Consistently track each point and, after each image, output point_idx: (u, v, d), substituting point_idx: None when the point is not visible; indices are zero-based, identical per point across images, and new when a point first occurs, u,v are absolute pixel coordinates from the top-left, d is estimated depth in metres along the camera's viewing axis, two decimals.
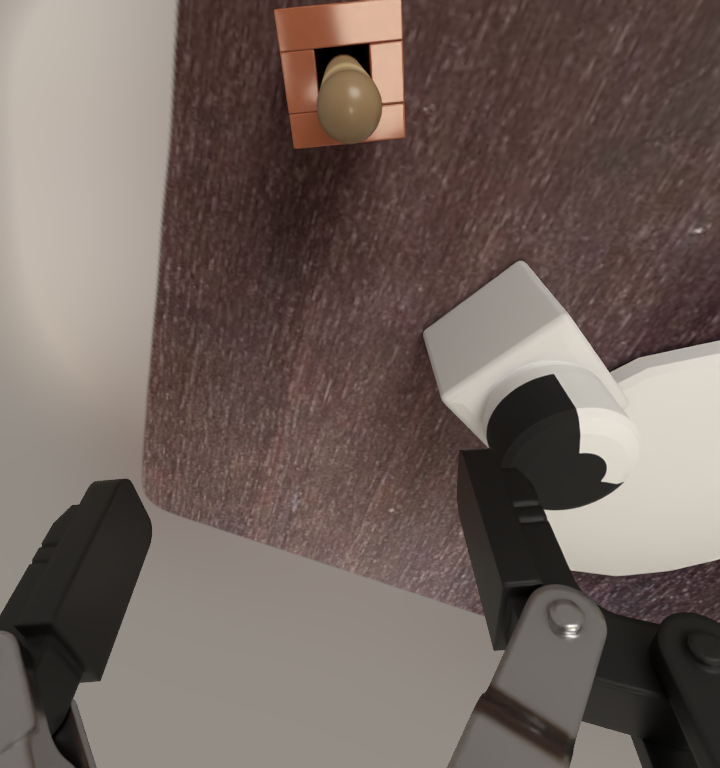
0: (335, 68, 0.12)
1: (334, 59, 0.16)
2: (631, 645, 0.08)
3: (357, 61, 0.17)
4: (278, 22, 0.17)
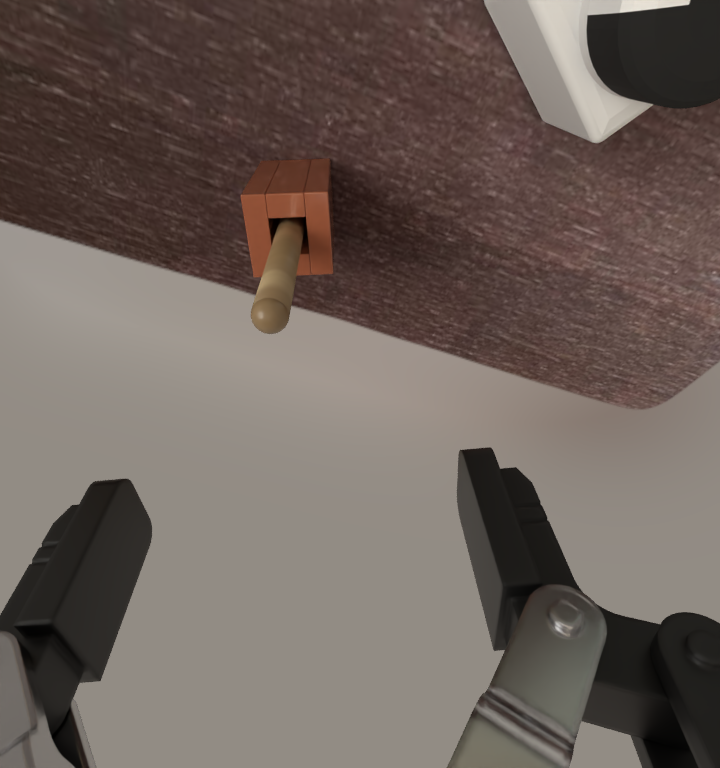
0: None
1: None
2: (631, 645, 0.08)
3: (277, 230, 0.25)
4: (260, 275, 0.27)
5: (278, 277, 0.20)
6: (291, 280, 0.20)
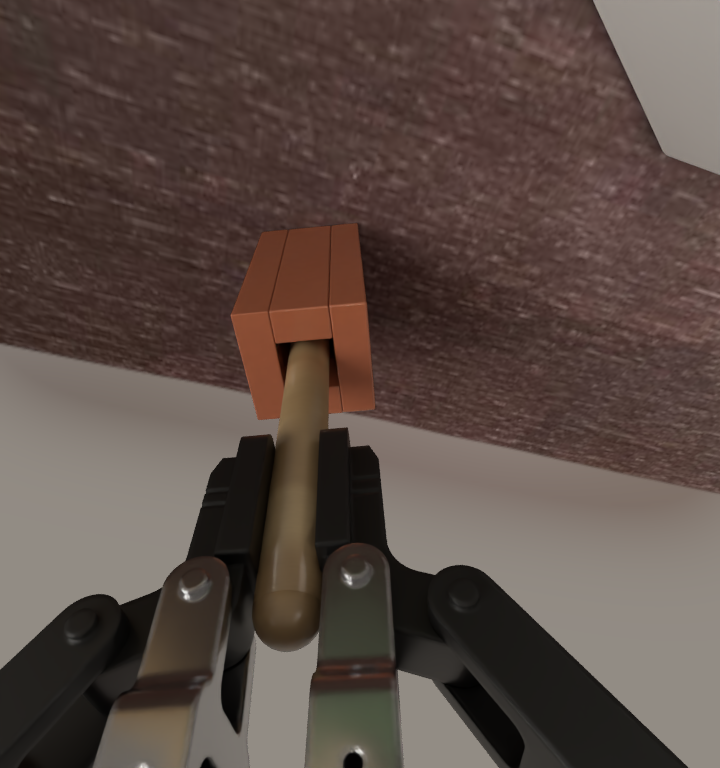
0: None
1: None
2: (416, 595, 0.09)
3: (290, 362, 0.16)
4: (267, 417, 0.18)
5: (298, 509, 0.11)
6: None
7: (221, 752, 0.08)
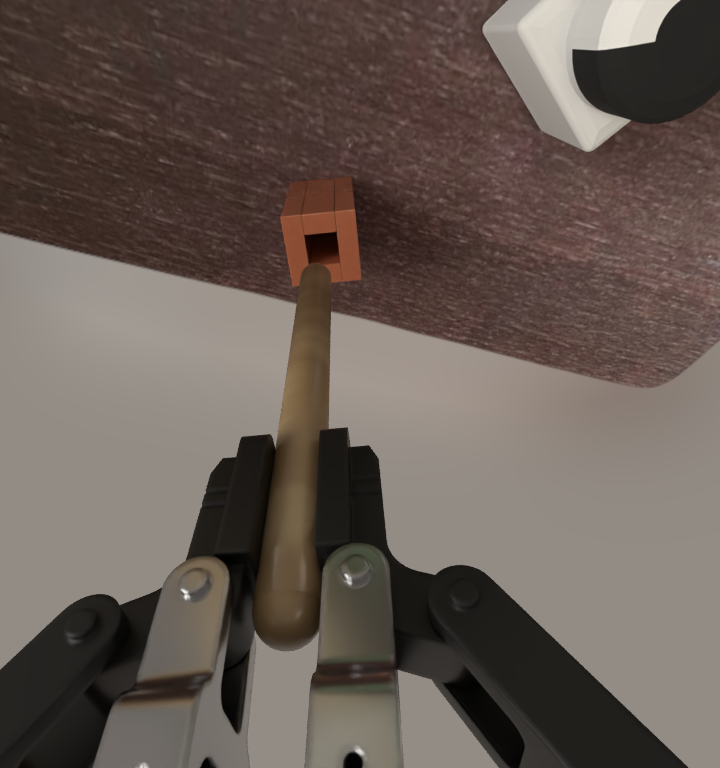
0: None
1: None
2: (416, 595, 0.09)
3: (291, 362, 0.16)
4: (298, 284, 0.31)
5: (299, 509, 0.11)
6: None
7: (221, 752, 0.08)
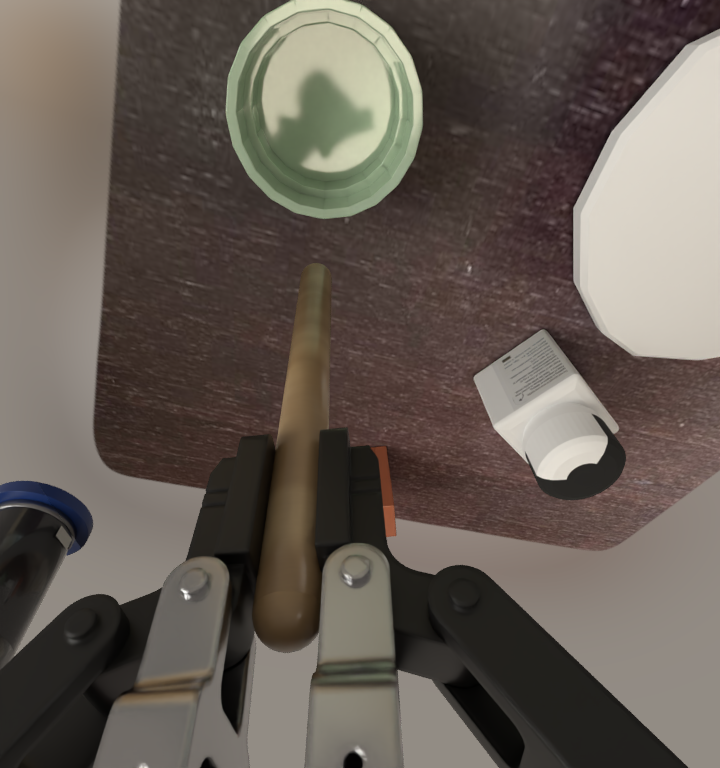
0: None
1: None
2: (416, 595, 0.09)
3: (291, 362, 0.16)
4: None
5: (299, 510, 0.11)
6: None
7: (221, 752, 0.08)
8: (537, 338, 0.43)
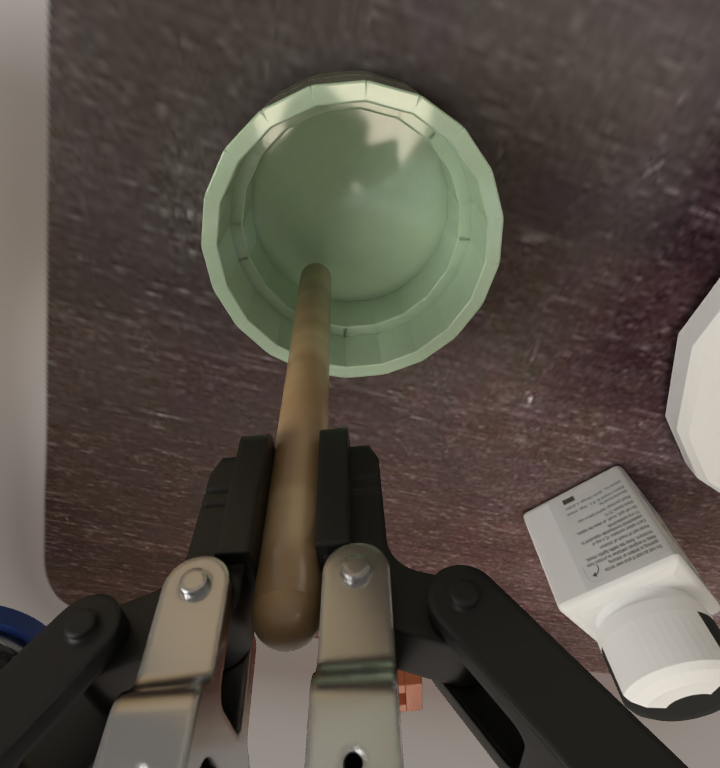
0: None
1: None
2: (416, 595, 0.09)
3: (290, 362, 0.16)
4: None
5: (298, 509, 0.11)
6: None
7: (221, 752, 0.08)
8: (611, 479, 0.34)
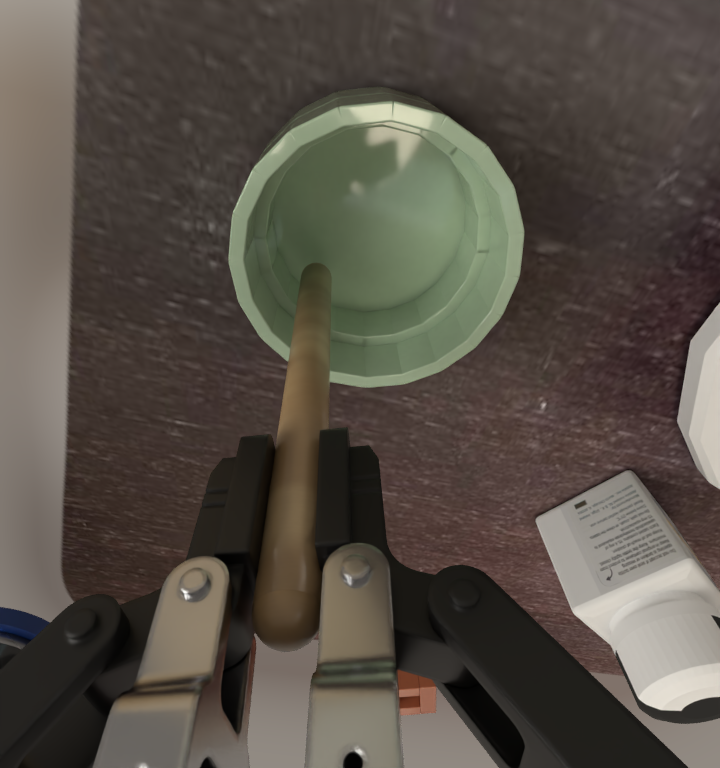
0: None
1: None
2: (416, 595, 0.09)
3: (291, 362, 0.16)
4: None
5: (298, 509, 0.11)
6: None
7: (221, 752, 0.08)
8: (623, 483, 0.34)
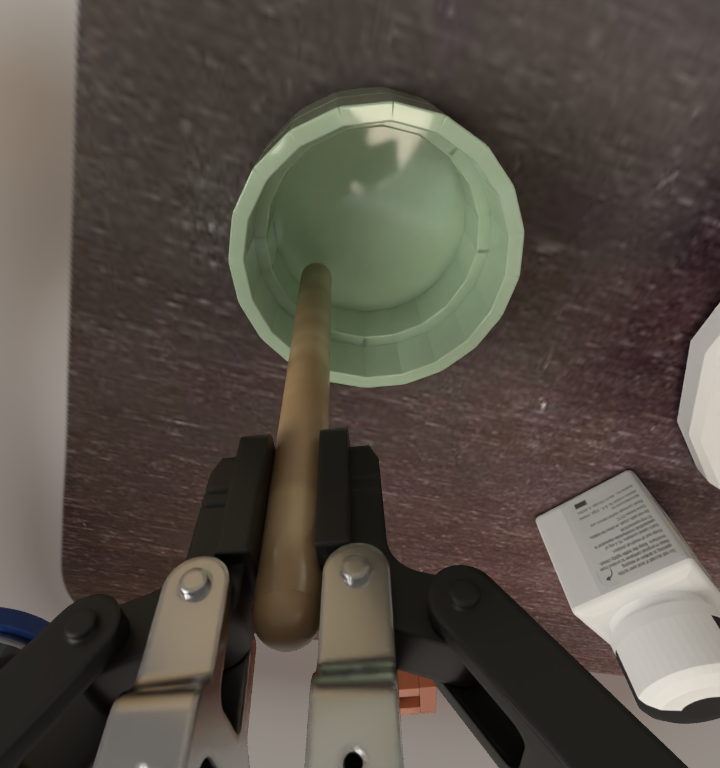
0: None
1: None
2: (416, 595, 0.09)
3: (291, 362, 0.16)
4: None
5: (298, 509, 0.11)
6: None
7: (221, 752, 0.08)
8: (623, 483, 0.34)
